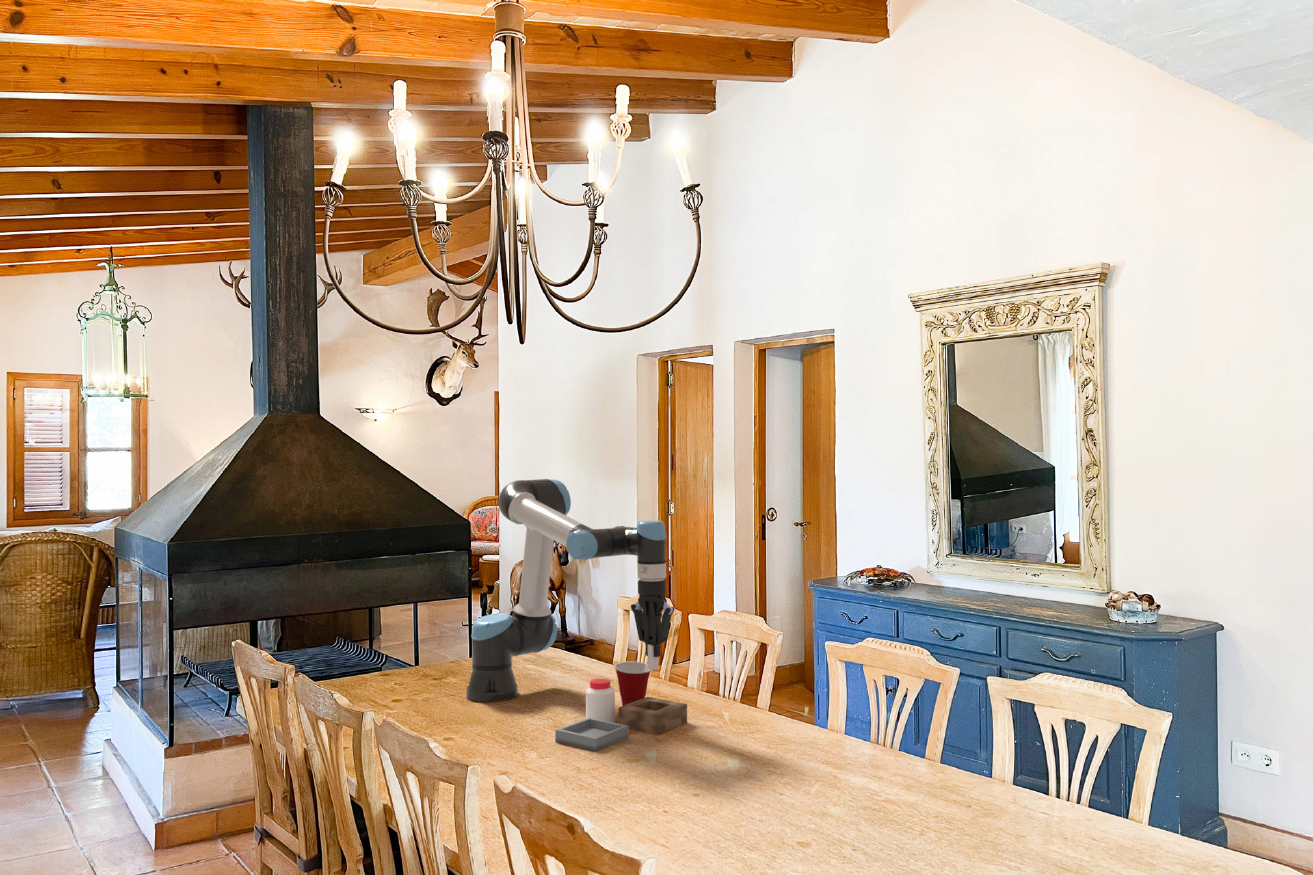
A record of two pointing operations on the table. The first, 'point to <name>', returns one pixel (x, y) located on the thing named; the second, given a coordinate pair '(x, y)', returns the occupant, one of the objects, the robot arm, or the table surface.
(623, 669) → the plastic cup
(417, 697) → the table surface
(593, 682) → the pill bottle
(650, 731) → the cinder block
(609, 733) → the tray
